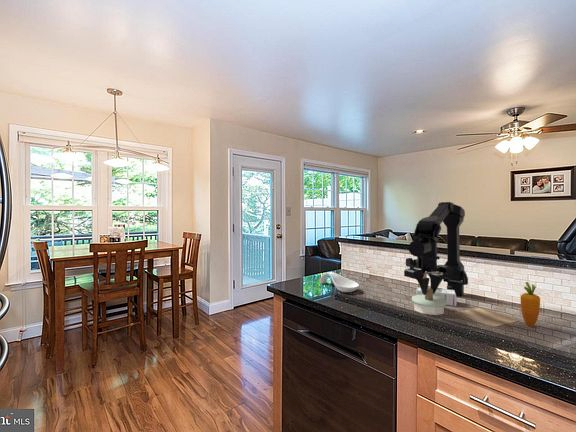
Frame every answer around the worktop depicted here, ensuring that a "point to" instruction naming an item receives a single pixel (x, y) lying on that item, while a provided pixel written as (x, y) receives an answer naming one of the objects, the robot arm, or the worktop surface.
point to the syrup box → (443, 295)
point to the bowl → (429, 309)
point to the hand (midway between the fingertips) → (428, 294)
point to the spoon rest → (340, 282)
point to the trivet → (487, 317)
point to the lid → (429, 299)
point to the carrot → (530, 305)
